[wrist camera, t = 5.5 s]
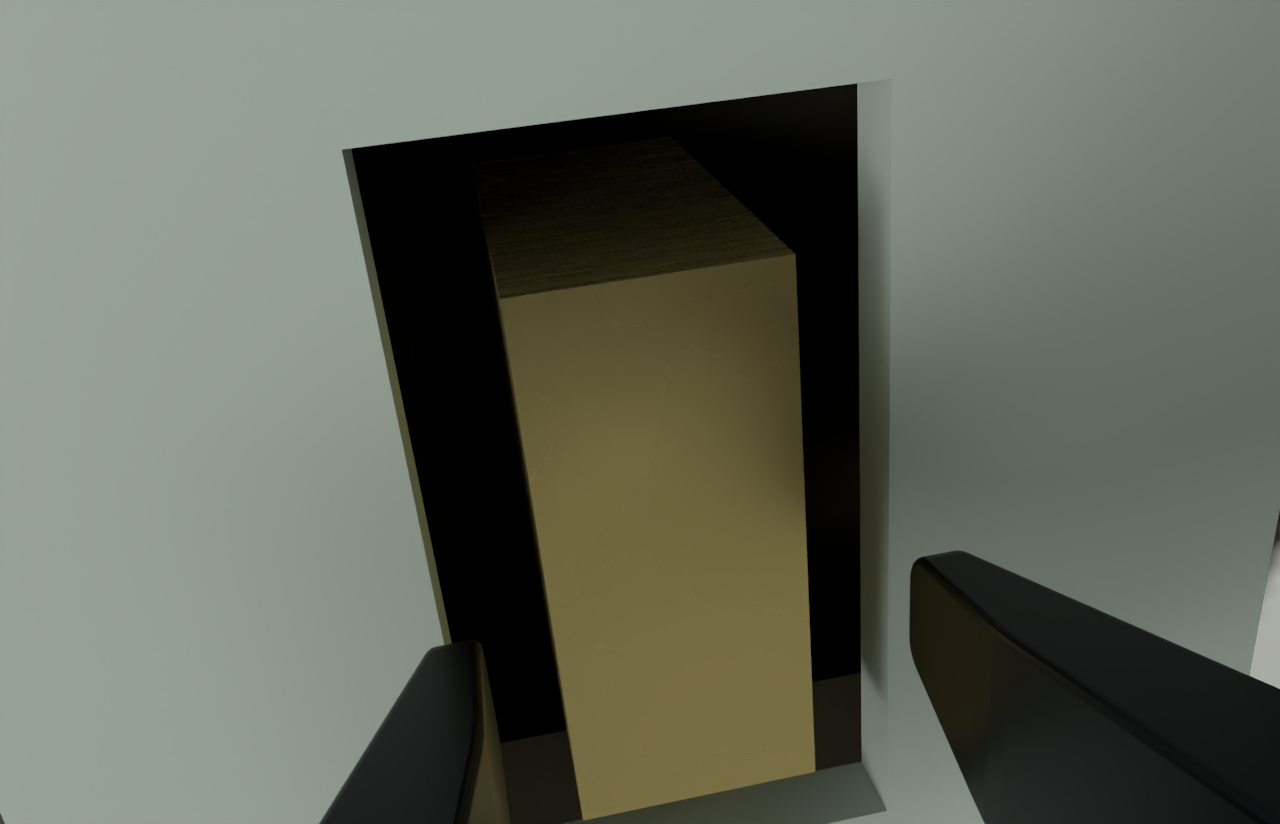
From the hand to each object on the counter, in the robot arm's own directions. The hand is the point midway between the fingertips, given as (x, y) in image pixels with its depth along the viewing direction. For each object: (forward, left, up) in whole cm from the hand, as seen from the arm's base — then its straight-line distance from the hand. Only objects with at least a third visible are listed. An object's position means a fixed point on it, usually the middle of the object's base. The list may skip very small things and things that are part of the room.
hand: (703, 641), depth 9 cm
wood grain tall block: (0, 0, -6) cm, 6 cm away
